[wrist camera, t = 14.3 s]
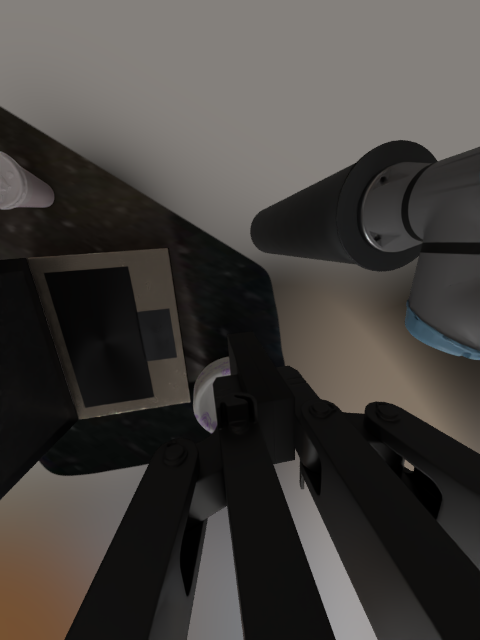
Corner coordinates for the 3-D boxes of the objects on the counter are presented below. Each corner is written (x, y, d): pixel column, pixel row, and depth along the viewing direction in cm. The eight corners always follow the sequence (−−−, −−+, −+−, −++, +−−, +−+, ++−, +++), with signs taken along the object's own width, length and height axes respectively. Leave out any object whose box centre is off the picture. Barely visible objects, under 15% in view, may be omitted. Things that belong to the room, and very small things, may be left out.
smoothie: (25, 160, 35) (-75, 110, 22) (71, 188, 37) (4, 157, 24) (8, 200, 36) (-97, 175, 23) (54, 225, 38) (-20, 216, 25)
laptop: (168, 248, 42) (167, 248, 40) (190, 396, 51) (190, 402, 50) (34, 257, 39) (26, 257, 37) (83, 413, 48) (78, 420, 47)
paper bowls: (186, 407, 52) (184, 435, 44) (203, 342, 48) (205, 360, 41) (252, 416, 56) (261, 443, 48) (273, 356, 52) (287, 375, 45)
